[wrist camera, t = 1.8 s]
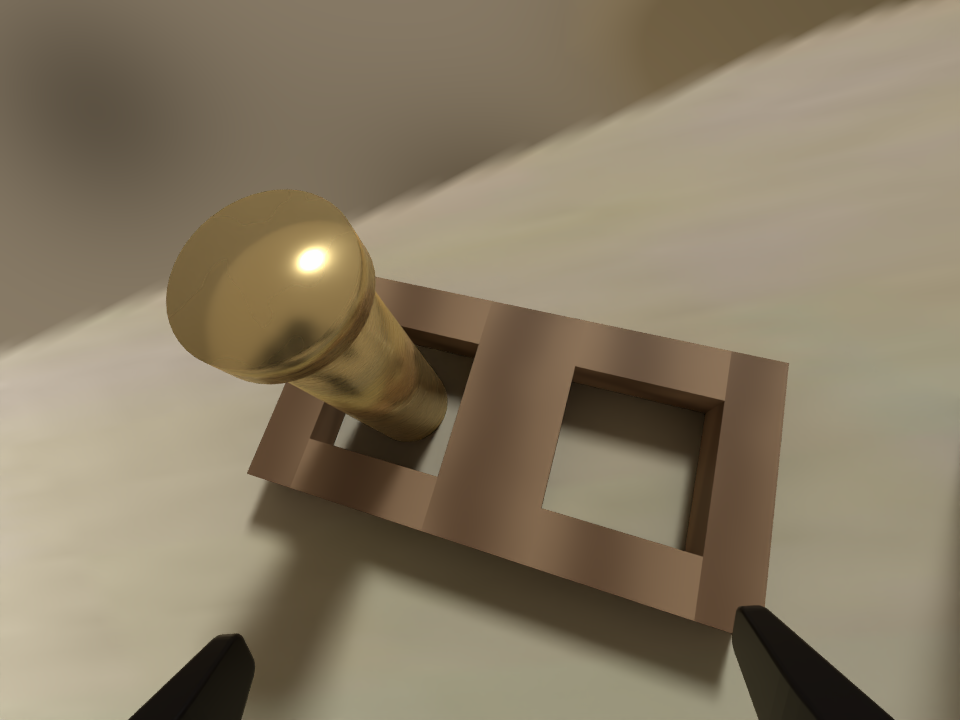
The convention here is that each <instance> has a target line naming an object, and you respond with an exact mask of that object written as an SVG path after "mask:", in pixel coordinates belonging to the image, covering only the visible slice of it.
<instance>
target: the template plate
mask: <svg viewBox="0 0 960 720" xmlns="http://www.w3.org/2000/svg"><path fill="white" fill-rule="evenodd" d="M375 279H376V286H375V292H376V293H377V294H378V296H379V297H380V298H381V300H382V301H383V302H384V304H385V305H386V307H387V308H388V309H389V311H390V312H391V313H392V315H393V316H394V317H395V319H396V320H397V322H398V323H399V324H400V326H401V327H402V328H403V330H404V331H405V332H406V334H407V335H408V337H409V338H410V339H411V341H412V342H413V343H414V344H416V345H420V346H425V347H429V348H433V349H437V350H441V351H446V352H450V353H454V354H458V355H462V356H466V357H471V358H474V362H473V365H472V368H471V371H470V374H469V378H468V381H467V384H466V387H465V391H464V394H463V397H462V400H461V403H460V407H459V410H458V413H457V416H456V420H455V423H454V426H453V429H452V432H451V436H450V439H449V442H448V445H447V449H446V452H445V455H444V458H443V462H442V465H441V468H440V471H439V474H438V477H436V476H433V475H429V474H426V473H423V472H419V471H416V470H413V469H409V468H406V467H403V466H399V465H396V464H393V463H389V462H386V461H383V460H379V459H376V458H373V457H369V456H366V455H363V454H359V453H356V452H353V451H350V450H346V449H343V448H340V447H336V446H333V444H334V442H335V439H336V436H337V434H338V431H339V429H340V426H341V423H342V421H343V418H344V416H345V413H344V412H342V411H340V410H338V409H336V408H335V407H333V406H331V405H329V404H327V403H325V402H323V401H322V400H320V399H318V398H316V397H314V396H312V395H310V394H309V393H307V392H305V391H303V390H301V389H299V388H297V387H296V386H294V385H292V384H290V383H288V382H287V383H286V384H285V386H284V388H283V391H282V393H281V395H280V398H279V400H278V402H277V405H276V407H275V409H274V412H273V414H272V416H271V419H270V421H269V423H268V426H267V428H266V430H265V433H264V435H263V437H262V440H261V442H260V444H259V447H258V449H257V451H256V454H255V456H254V458H253V461H252V463H251V465H250V468H249V470H248V472H247V474H250V475H253V476H256V477H259V478H262V479H265V480H268V481H271V482H274V483H277V484H280V485H283V486H286V487H289V488H292V489H295V490H298V491H302V492H305V493H308V494H311V495H314V496H317V497H320V498H323V499H326V500H329V501H332V502H335V503H338V504H341V505H344V506H347V507H350V508H353V509H356V510H359V511H362V512H365V513H368V514H371V515H374V516H377V517H380V518H383V519H386V520H389V521H392V522H396V523H399V524H402V525H405V526H408V527H411V528H414V529H417V530H420V531H423V532H426V533H429V534H432V535H435V536H438V537H441V538H444V539H447V540H450V541H453V542H456V543H459V544H462V545H465V546H468V547H471V548H474V549H477V550H480V551H483V552H486V553H490V554H493V555H496V556H499V557H502V558H505V559H508V560H511V561H514V562H517V563H520V564H523V565H526V566H529V567H532V568H535V569H538V570H541V571H544V572H547V573H550V574H553V575H556V576H559V577H562V578H565V579H568V580H571V581H574V582H577V583H581V584H584V585H587V586H590V587H593V588H596V589H599V590H602V591H605V592H608V593H611V594H614V595H617V596H620V597H623V598H626V599H629V600H632V601H635V602H638V603H641V604H644V605H647V606H650V607H653V608H656V609H659V610H662V611H665V612H668V613H671V614H675V615H678V616H681V617H684V618H687V619H690V620H693V621H696V622H699V623H702V624H705V625H708V626H711V627H714V628H717V629H720V630H723V631H726V632H729V633H732V632H733V626H734V619H735V613H736V609H737V608H738V607H739V606H749V605H761V606H763V607H765V597H766V587H767V577H768V567H769V557H770V547H771V537H772V527H773V517H774V507H775V497H776V487H777V477H778V467H779V457H780V447H781V437H782V427H783V416H784V406H785V396H786V386H787V376H788V366H789V363H785V362H780V361H776V360H771V359H766V358H761V357H757V356H752V355H747V354H742V353H737V352H733V351H728V350H723V349H718V348H713V347H709V346H704V345H699V344H694V343H690V342H685V341H680V340H675V339H670V338H666V337H661V336H656V335H651V334H647V333H642V332H637V331H632V330H627V329H623V328H618V327H613V326H608V325H603V324H599V323H594V322H589V321H584V320H580V319H575V318H570V317H565V316H560V315H556V314H551V313H546V312H541V311H536V310H532V309H527V308H522V307H517V306H513V305H508V304H503V303H498V302H493V301H489V300H484V299H479V298H474V297H469V296H465V295H460V294H455V293H450V292H446V291H441V290H436V289H431V288H426V287H422V286H417V285H412V284H407V283H402V282H398V281H393V280H388V279H383V278H379V277H375ZM572 382H576V383H580V384H584V385H588V386H592V387H597V388H601V389H605V390H609V391H613V392H618V393H622V394H626V395H630V396H634V397H639V398H643V399H647V400H651V401H655V402H660V403H664V404H668V405H672V406H676V407H681V408H685V409H689V410H693V411H697V412H702V413H705V419H704V426H703V432H702V439H701V446H700V452H699V459H698V466H697V472H696V479H695V486H694V492H693V499H692V506H691V512H690V519H689V526H688V532H687V539H686V546H685V551H682V550H679V549H675V548H672V547H669V546H665V545H662V544H659V543H656V542H652V541H649V540H646V539H642V538H639V537H636V536H632V535H629V534H626V533H622V532H619V531H616V530H612V529H609V528H606V527H602V526H599V525H596V524H592V523H589V522H586V521H582V520H579V519H576V518H572V517H569V516H566V515H562V514H559V513H556V512H552V511H549V510H546V509H542V504H543V500H544V495H545V491H546V487H547V483H548V479H549V475H550V470H551V466H552V462H553V458H554V454H555V450H556V446H557V441H558V437H559V433H560V429H561V425H562V421H563V417H564V412H565V408H566V404H567V400H568V396H569V392H570V388H571V383H572Z"/></svg>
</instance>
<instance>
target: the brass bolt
mask: <svg viewBox="0 0 960 720" xmlns="http://www.w3.org/2000/svg"><path fill="white" fill-rule="evenodd" d="M375 286H376V279H375V270H374V266H373V263H372V260H371V257H370V255H369V253H368V251H367V249H366V248H365V246H364V245H363V243H362V241H361V240H360V238H359V237H358V235H357V234H356V232H355V231H354V229H353V228H352V226H351V225H350V223H349V222H348V220H347V218H346V217H345V216H344V215H343V213H342V212H341V211H340V210H339V209H338V208H337V207H335V206H334V205H333V204H332V203H330V202H329V201H327V200H325V199H323V198H322V197H319V196H317V195H314V194H312V193H308V192H304V191H298V190H272V191H265V192H261V193H257V194H253V195H250V196H248V197H245V198H242V199H240V200H238V201H236V202H234V203H232V204H230V205H228V206H227V207H225V208H223V209H221V210H220V211H219V212H217V213H216V214H214V215H213V216H212V217H210V219H208V220H207V221H206V222H205V223H204V224H203V225H201V226H200V227H199V228H198V230H197V231H196V232H195V233H194V234H193V235H192V236H191V238H190V239H189V240H188V242H187V243H186V244H185V246H184V247H183V249H182V251H181V252H180V254H179V255H178V257H177V260H176V262H175V264H174V266H173V269H172V272H171V274H170V277H169V282H168V287H167V296H166V305H167V314H168V319H169V323H170V325H171V328H172V330H173V333H174V334H175V336H176V338H177V339H178V341H179V342H180V343H181V345H182V346H183V347H184V348H185V349H186V350H187V351H188V352H189V353H191V354H192V355H193V356H194V357H196V358H198V359H199V360H201V361H203V362H205V363H207V364H209V365H211V366H213V367H215V368H218V369H220V370H222V371H224V372H226V373H228V374H230V375H233V376H235V377H237V378H240V379H242V380H245V381H248V382H253V383H258V384H281V383H287V382H288V383H290V384H292V385H294V386H296V387H297V388H299V389H301V390H303V391H305V392H307V393H309V394H310V395H312V396H314V397H316V398H318V399H320V400H322V401H323V402H325V403H327V404H329V405H331V406H333V407H335V408H336V409H338V410H340V411H342V412H344V413H346V414H348V415H349V416H351V417H353V418H355V419H357V420H359V421H361V422H362V423H364V424H366V425H368V426H370V427H372V428H373V429H375V430H377V431H379V432H381V433H383V434H385V435H386V436H388V437H390V438H392V439H395V440H397V441H402V442H412V441H417V440H420V439H423V438H425V437H427V436H428V435H430V434H431V433H432V432H433V431H435V430H436V429H437V427H438V426H439V425H440V423H441V422H442V420H443V418H444V416H445V413H446V410H447V393H446V390H445V387H444V385H443V383H442V382H441V380H440V379H439V377H438V376H437V375H436V373H435V372H434V371H433V369H432V368H431V367H430V365H429V364H428V362H427V361H426V360H425V358H424V357H423V356H422V354H421V353H420V352H419V350H418V349H417V347H416V346H415V345H414V343H413V342H412V341H411V339H410V338H409V337H408V335H407V334H406V332H405V331H404V330H403V328H402V327H401V326H400V324H399V323H398V322H397V320H396V319H395V317H394V316H393V315H392V313H391V312H390V311H389V309H388V308H387V307H386V305H385V304H384V302H383V301H382V300H381V298H380V297H379V296H378V294H377V293H376V292H375Z"/></svg>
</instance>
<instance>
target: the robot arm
mask: <svg viewBox="0 0 960 720" xmlns="http://www.w3.org/2000/svg"><path fill="white" fill-rule="evenodd" d="M732 644H733V649H734V652H735V655H736V658H737V661H738V663H739V666H740V669H741V672H742V674H743V677H744V680H745V683H746V686H747V688H748V691H749V694H750V697H751V700H752V702H753V705H754V708H755V711H756V714H757V716H758V719H759V720H894V719H893V718H892V717H891V716H890V715H889V714H888V713H886V712H885V711H884V710H883V709H882V708H881V707H880V706H878V705H877V704H876V703H875V702H874V701H873V700H872V699H870V698H869V697H868V696H867V695H866V694H865V693H863V692H862V691H861V690H860V689H859V688H858V687H857V686H855V685H854V684H853V683H852V682H851V681H850V680H849V679H847V678H846V677H845V676H844V675H843V674H842V673H841V672H839V671H838V670H837V669H836V668H835V667H834V666H832V665H831V664H830V663H829V662H828V661H827V660H826V659H824V658H823V657H822V656H821V655H820V654H819V653H818V652H816V651H815V650H814V649H813V648H812V647H811V646H809V645H808V644H807V643H806V642H805V641H804V640H803V639H801V638H800V637H799V636H798V635H797V634H796V633H795V632H793V631H792V630H791V629H790V628H789V627H788V626H787V625H785V624H784V623H783V622H782V621H781V620H780V619H778V618H777V617H776V616H775V615H774V614H773V613H772V612H770V611H769V610H768V609H767V608H765V607H763V606H761V605H749V606H739V607H738V608H737V609H736V613H735V619H734V626H733V632H732ZM254 671H255V662H254V659H253V656H252V654H251V652H250V650H249V648H248V646H247V644H246V642H245V640H244V638H243V637H242V636H241V635H240V634H222V635H219V636H217V637H215V638H214V639H212V640H211V641H210V642H209V643H208V644H207V645H206V646H205V647H204V648H203V649H202V650H201V651H200V652H199V653H198V654H197V655H195V656H194V657H193V658H192V659H191V660H190V661H189V662H188V663H187V664H186V665H185V666H184V667H183V668H182V669H181V670H180V671H179V672H178V673H177V674H176V675H174V676H173V677H172V678H171V679H170V680H169V681H168V682H167V683H166V684H165V685H164V686H163V687H162V688H161V689H160V690H159V691H158V692H157V693H156V694H155V695H154V696H152V697H151V698H150V699H149V700H148V701H147V702H146V703H145V704H144V705H143V706H142V707H141V708H140V709H139V710H138V711H137V712H136V713H135V714H134V715H133V716H131V717H130V718H129V719H128V720H241V719H242V715H243V712H244V708H245V705H246V701H247V698H248V694H249V691H250V687H251V683H252V680H253V676H254Z"/></svg>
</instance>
